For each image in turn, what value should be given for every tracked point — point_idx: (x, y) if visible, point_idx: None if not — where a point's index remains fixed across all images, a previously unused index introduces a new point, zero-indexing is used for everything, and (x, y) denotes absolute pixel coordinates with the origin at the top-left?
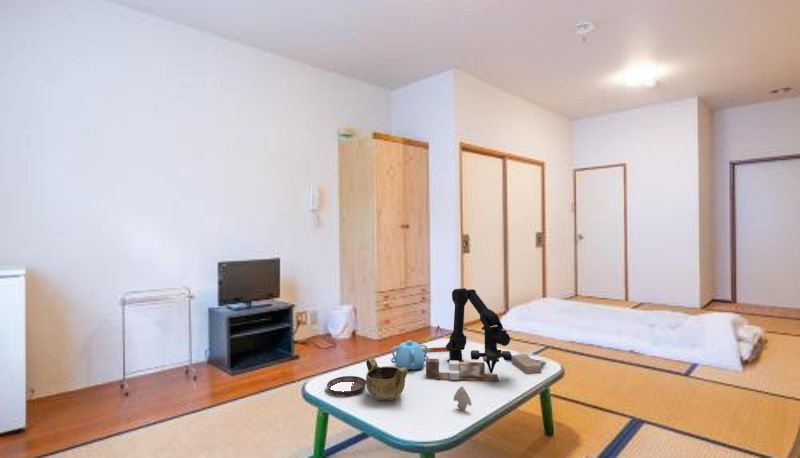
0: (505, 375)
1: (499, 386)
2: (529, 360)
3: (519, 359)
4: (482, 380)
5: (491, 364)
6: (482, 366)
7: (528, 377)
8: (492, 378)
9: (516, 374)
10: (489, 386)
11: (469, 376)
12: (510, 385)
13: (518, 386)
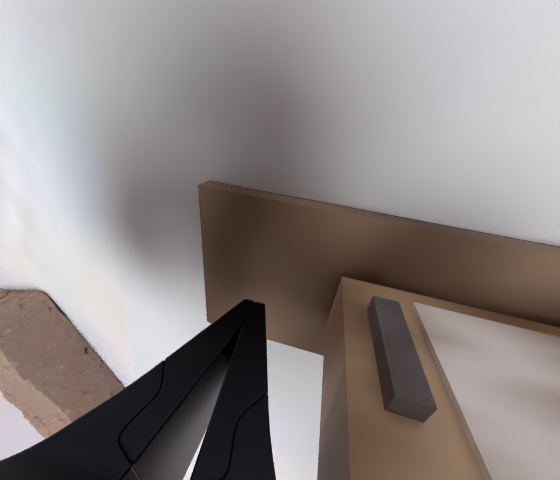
0: (159, 303)
1: (212, 17)
2: (10, 393)
3: (61, 418)
4: (394, 219)
5: (195, 439)
6: (400, 449)
7: (20, 247)
8: (261, 245)
9: (97, 302)
10: (362, 9)
11: (549, 326)
12: (92, 66)
13: (11, 30)
